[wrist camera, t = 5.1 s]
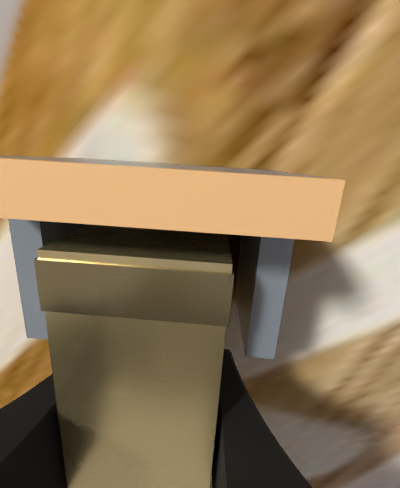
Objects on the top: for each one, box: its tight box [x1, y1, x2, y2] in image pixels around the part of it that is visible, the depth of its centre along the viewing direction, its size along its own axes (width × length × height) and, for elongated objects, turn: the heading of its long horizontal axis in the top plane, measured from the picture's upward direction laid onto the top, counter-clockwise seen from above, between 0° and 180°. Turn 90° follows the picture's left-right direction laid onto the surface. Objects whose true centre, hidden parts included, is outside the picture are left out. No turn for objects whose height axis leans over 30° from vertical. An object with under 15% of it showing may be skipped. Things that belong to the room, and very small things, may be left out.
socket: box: [0, 156, 345, 359], centre depth 8 cm, size 5×7×6 cm
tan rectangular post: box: [34, 224, 234, 488], centre depth 10 cm, size 17×4×5 cm, turn 177°
